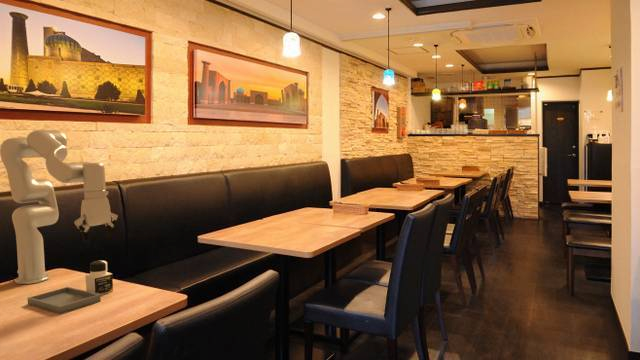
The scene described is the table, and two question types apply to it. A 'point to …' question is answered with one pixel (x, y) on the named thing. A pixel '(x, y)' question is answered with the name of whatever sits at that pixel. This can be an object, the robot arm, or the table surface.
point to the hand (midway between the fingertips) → (98, 239)
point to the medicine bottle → (99, 278)
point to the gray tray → (63, 300)
